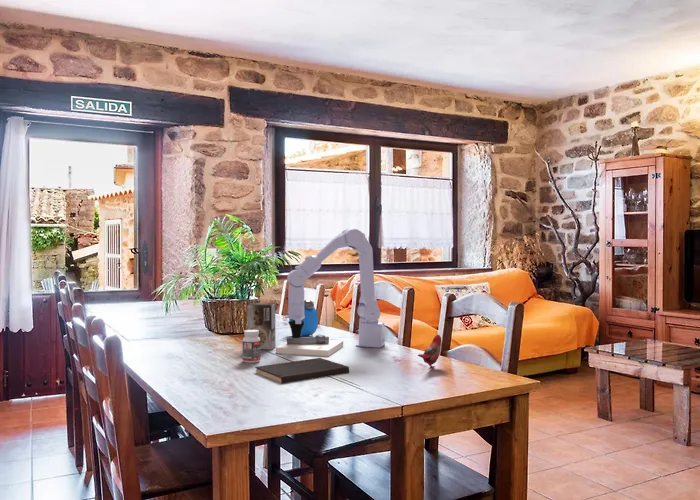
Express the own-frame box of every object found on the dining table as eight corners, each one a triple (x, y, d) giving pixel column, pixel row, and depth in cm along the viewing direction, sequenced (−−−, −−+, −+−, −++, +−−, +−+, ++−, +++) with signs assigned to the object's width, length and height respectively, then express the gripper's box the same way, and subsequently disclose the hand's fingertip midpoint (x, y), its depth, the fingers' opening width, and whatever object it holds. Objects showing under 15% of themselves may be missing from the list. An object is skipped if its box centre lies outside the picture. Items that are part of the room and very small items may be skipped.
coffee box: (276, 346, 214) (276, 302, 214) (271, 349, 208) (272, 304, 207) (251, 345, 215) (251, 302, 214) (246, 349, 208) (247, 304, 208)
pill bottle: (256, 363, 185) (256, 332, 185) (239, 362, 186) (239, 331, 186) (262, 359, 191) (262, 329, 190) (246, 359, 192) (246, 329, 192)
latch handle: (328, 341, 212) (328, 335, 212) (329, 343, 208) (329, 336, 208) (286, 342, 209) (286, 335, 209) (287, 344, 206) (287, 337, 206)
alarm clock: (318, 337, 233) (318, 300, 233) (305, 339, 230) (306, 301, 229) (300, 333, 244) (300, 297, 243) (288, 334, 240) (288, 298, 240)
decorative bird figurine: (444, 365, 184) (445, 333, 184) (422, 376, 169) (422, 342, 169) (436, 364, 186) (436, 333, 186) (413, 375, 171) (413, 341, 170)
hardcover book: (255, 374, 173) (255, 366, 173) (319, 364, 187) (319, 357, 187) (281, 385, 160) (281, 377, 160) (349, 374, 174) (349, 366, 174)
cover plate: (343, 346, 215) (343, 340, 215) (328, 356, 197) (328, 350, 197) (294, 343, 220) (294, 337, 220) (275, 353, 202) (275, 347, 202)
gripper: (283, 301, 216) (283, 337, 216) (286, 306, 202) (286, 345, 202) (302, 301, 217) (302, 337, 218) (307, 305, 203) (307, 344, 203)
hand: (296, 341), depth 210 cm, fingers closed
